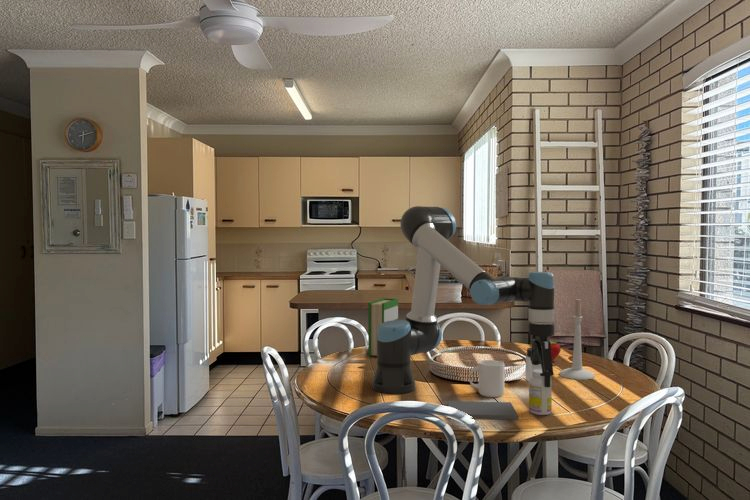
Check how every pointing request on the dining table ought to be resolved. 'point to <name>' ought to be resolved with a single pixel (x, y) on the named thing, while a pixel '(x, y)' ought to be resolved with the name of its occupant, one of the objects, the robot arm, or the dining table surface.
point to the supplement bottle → (538, 396)
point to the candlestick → (577, 351)
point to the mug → (490, 378)
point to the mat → (486, 409)
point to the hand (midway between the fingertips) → (541, 391)
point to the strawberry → (554, 350)
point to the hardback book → (379, 319)
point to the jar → (529, 365)
